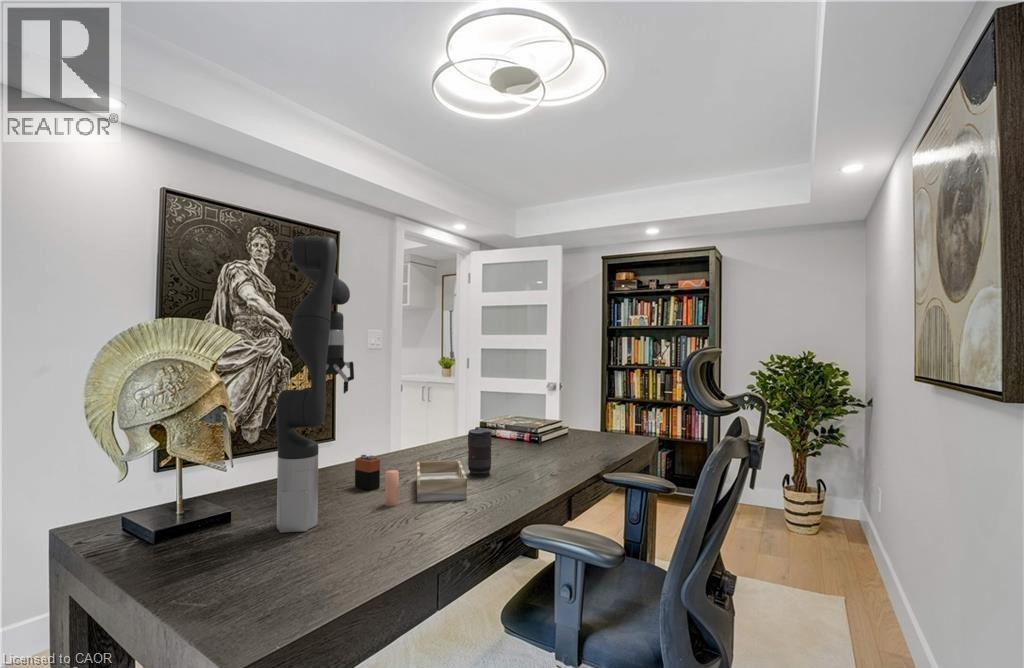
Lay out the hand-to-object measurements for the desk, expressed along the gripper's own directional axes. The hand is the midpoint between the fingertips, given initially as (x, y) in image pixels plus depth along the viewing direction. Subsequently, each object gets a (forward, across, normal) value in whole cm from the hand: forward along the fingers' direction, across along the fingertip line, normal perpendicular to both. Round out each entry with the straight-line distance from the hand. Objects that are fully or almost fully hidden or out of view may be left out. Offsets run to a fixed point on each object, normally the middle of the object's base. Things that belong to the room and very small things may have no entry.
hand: (331, 393), depth 168 cm
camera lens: (+28, +48, -7) cm, 56 cm away
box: (+28, +33, -20) cm, 48 cm away
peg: (+28, +18, -31) cm, 46 cm away
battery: (+28, +12, -13) cm, 33 cm away
